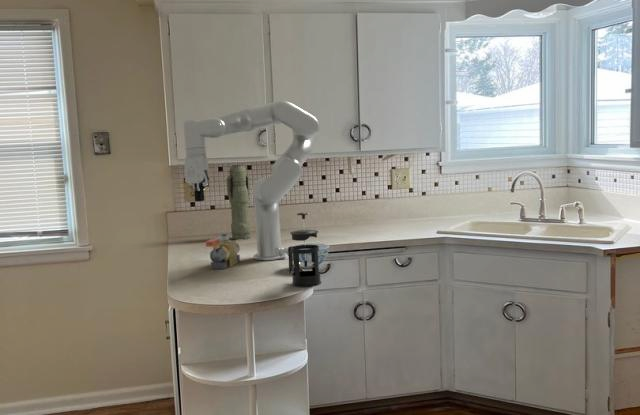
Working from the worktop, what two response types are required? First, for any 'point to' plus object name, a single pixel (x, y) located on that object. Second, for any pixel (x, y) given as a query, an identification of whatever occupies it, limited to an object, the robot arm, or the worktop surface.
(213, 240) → the valve lever
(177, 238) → the worktop surface
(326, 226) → the worktop surface
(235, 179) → the green piece
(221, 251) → the ball valve
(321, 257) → the chinaware
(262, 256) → the robot arm
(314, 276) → the french press
